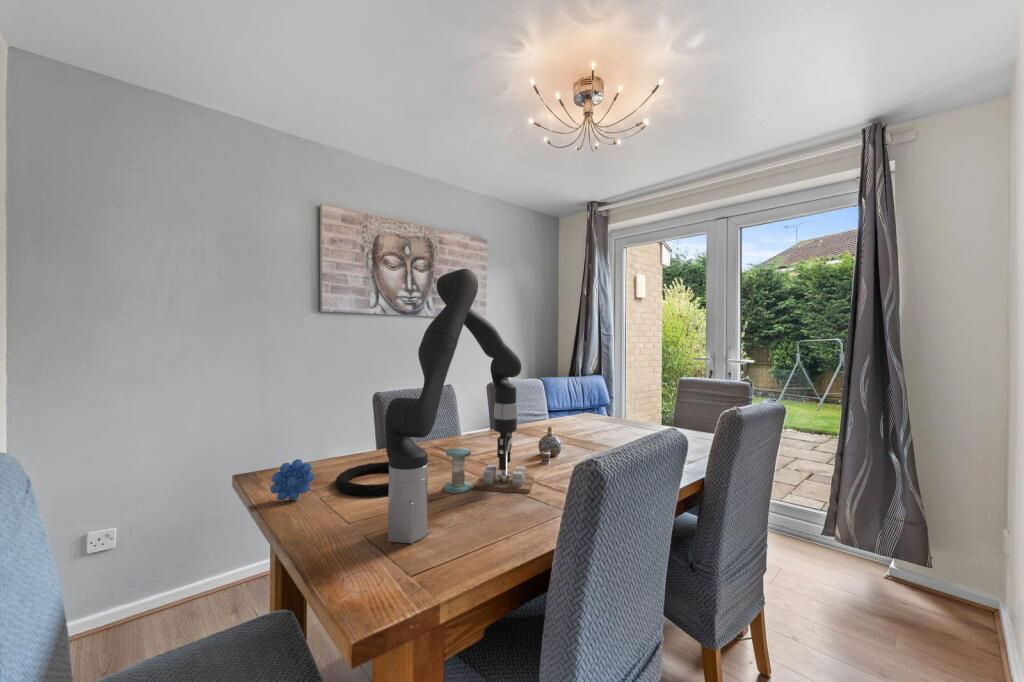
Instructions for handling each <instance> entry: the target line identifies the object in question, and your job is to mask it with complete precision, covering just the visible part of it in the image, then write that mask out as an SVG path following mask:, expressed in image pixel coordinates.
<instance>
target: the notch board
mask: <svg viewBox="0 0 1024 682" xmlns="http://www.w3.org/2000/svg"><path fill="white" fill-rule="evenodd" d="M497 474H498V464H488V465H487V466H486V467H485V469H484V470H483V473H481V475H480V476H479V477H478V478H477V480H476V482H475V483H474V484H473V485H472V490H475V491H476V490H478V491H492V492H507V493H522V494H523V493H524V494H530V493H531V491H532V488H533V484H534V482H535V477H533V476H526V466H520V465H519V466H517V465H516V466H515V469H514V470H513V472H512V477H510V478H509V479H508V482H507V483H502V482H500V478H498V477H497Z"/></svg>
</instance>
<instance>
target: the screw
mask: <svg viewBox="0 0 1024 682" xmlns="http://www.w3.org/2000/svg"><path fill="white" fill-rule="evenodd" d="M501 454H504V452H501ZM500 471H501V472H497V477H498V478H500V482H502V483H507V482H508V479H509V478H510V477H512V476H513V474H511V473H510V472H508V463H507V457H506V469H505V470H500Z"/></svg>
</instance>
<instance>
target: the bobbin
mask: <svg viewBox="0 0 1024 682" xmlns="http://www.w3.org/2000/svg"><path fill="white" fill-rule="evenodd" d="M471 455H472V450H471V449H470V448H468V447H452V448H448V449H446V450H445V456H446V457H450V458H451V459H452V460H451V481H448V482H446V483H444V485H443V490H444V492H447V493H449V494H466V493H469V492H470V491H472V490H473V483H472V482H470V481H466V480H465V478H466V477H465V469H466V464H465V463H466V462H465V461H466V459H465V458H466V457H470V456H471Z"/></svg>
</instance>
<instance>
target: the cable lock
mask: <svg viewBox="0 0 1024 682" xmlns="http://www.w3.org/2000/svg"><path fill="white" fill-rule="evenodd" d="M379 473H389V461H383V462H374V463H372V462H370V463H366V464H359V465H357V466H356V465H355V466H353V467H350V468H347V469H346V470H344V471H342V472H340V473H339V475H338V476H337V477H335V478H336V479H335V481H334V484H335V488H336V489H337V490H338V491H339V492H341V493H343V494H346V495H350V496H355V497H363V498H364V497H368V498H370V497H374V498H375V497H381V496H389V482H387V483H386V482H385V483H380V484H362V483H361V484H360V483H354V482H351V481H350V480H353V479H354V478H357V477H361V476H365V475H369V474H379Z"/></svg>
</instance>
